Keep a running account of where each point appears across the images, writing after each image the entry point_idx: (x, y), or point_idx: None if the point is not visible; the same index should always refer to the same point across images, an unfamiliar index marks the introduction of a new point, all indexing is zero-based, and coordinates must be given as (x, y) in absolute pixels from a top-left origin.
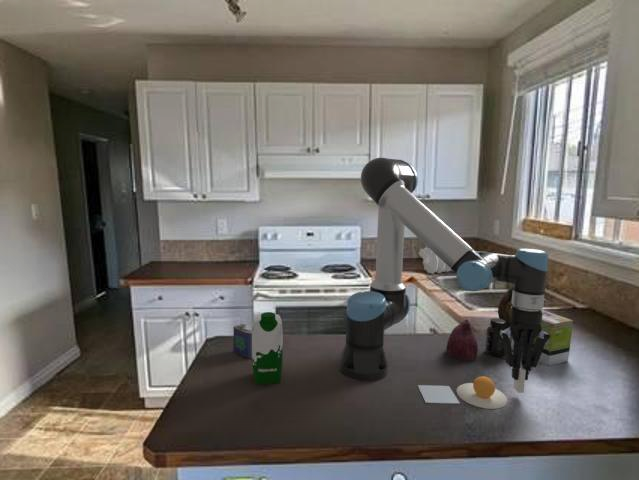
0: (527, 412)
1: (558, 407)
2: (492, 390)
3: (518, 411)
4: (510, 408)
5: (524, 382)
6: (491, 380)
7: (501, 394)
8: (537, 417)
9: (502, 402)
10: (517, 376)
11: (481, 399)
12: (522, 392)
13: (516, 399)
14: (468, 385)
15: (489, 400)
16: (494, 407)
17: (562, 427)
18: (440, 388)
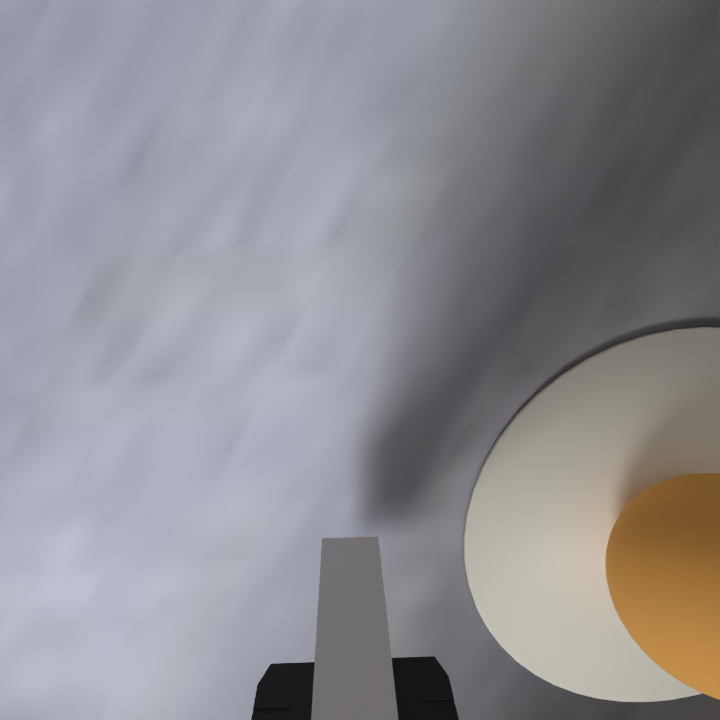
0: (390, 291)
1: (48, 394)
2: (697, 506)
3: (468, 303)
4: (517, 348)
5: (319, 621)
6: (713, 633)
7: (489, 554)
8: (336, 210)
9: (549, 430)
10: (405, 699)
11: (716, 464)
12: (334, 539)
13: (383, 496)
14: None
15: (652, 453)
16: (672, 343)
17: (169, 40)
18: None
